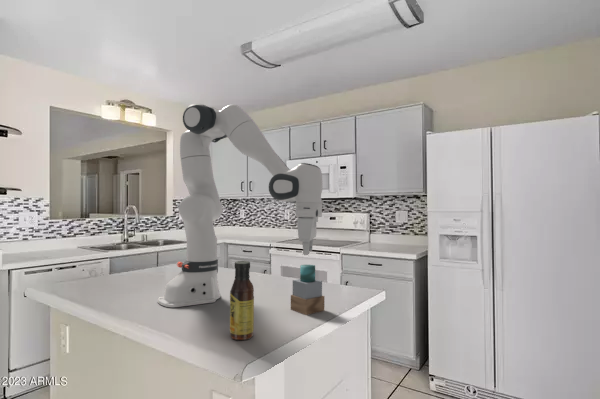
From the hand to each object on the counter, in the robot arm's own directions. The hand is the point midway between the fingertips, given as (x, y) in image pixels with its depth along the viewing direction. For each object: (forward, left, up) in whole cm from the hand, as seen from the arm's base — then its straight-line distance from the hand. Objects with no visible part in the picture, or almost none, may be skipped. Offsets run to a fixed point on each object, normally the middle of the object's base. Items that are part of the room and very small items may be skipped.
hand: (307, 252), depth 119 cm
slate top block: (0, 0, -14) cm, 14 cm away
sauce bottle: (-30, -7, -19) cm, 36 cm away
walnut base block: (0, 0, -19) cm, 19 cm away
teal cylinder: (0, 0, -9) cm, 9 cm away
